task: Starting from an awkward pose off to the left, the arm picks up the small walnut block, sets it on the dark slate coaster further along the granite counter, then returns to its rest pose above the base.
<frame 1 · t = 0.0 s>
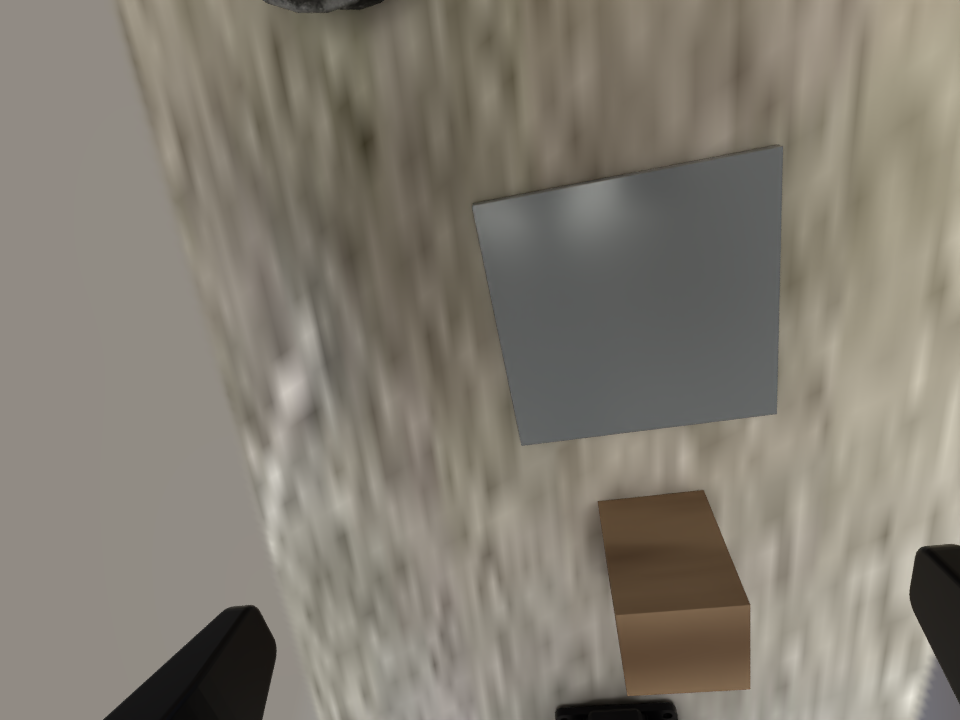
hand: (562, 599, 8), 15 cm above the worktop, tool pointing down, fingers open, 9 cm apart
slate coaster: (632, 312, 22), on the worktop
walnut block: (653, 534, 26), on the worktop
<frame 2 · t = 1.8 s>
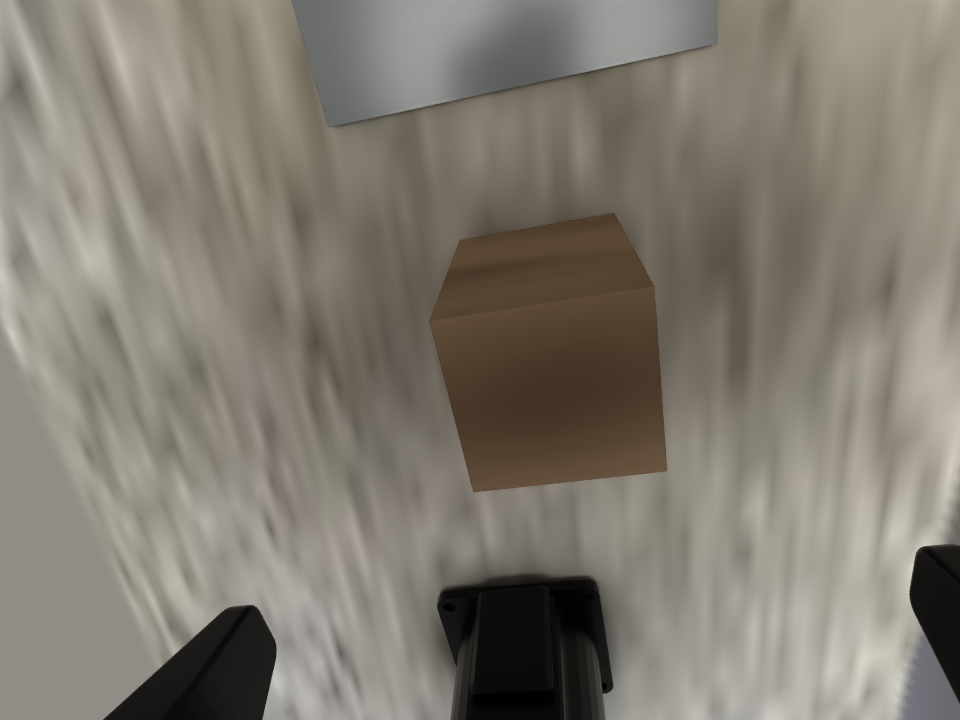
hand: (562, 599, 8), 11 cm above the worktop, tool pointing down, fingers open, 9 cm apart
walnut block: (546, 298, 18), on the worktop
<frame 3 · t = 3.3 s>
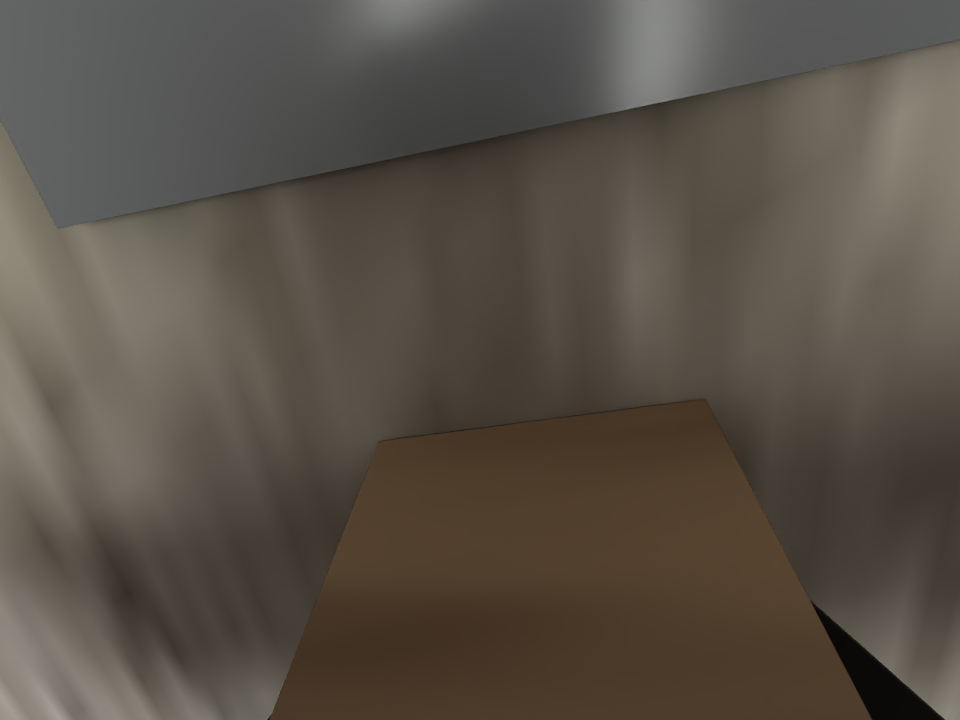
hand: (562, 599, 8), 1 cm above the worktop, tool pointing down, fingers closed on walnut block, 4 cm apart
walnut block: (558, 543, 9), on the worktop, touching gripper
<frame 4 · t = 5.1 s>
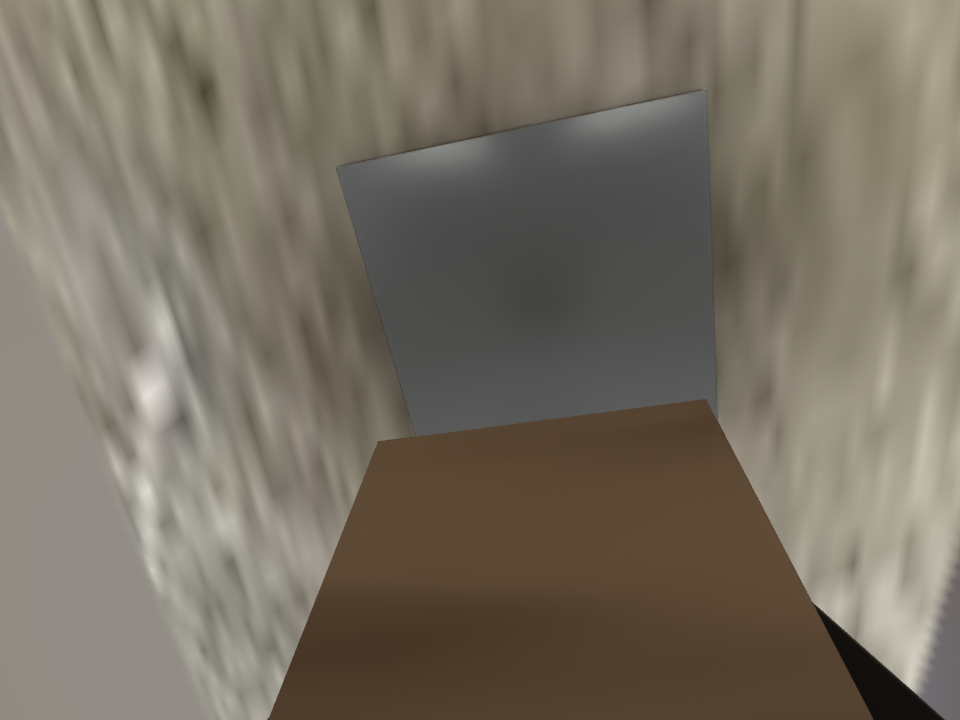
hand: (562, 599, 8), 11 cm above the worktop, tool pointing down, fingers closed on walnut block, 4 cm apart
slate coaster: (541, 299, 18), on the worktop
walnut block: (558, 543, 9), point 10 cm above the worktop, touching gripper
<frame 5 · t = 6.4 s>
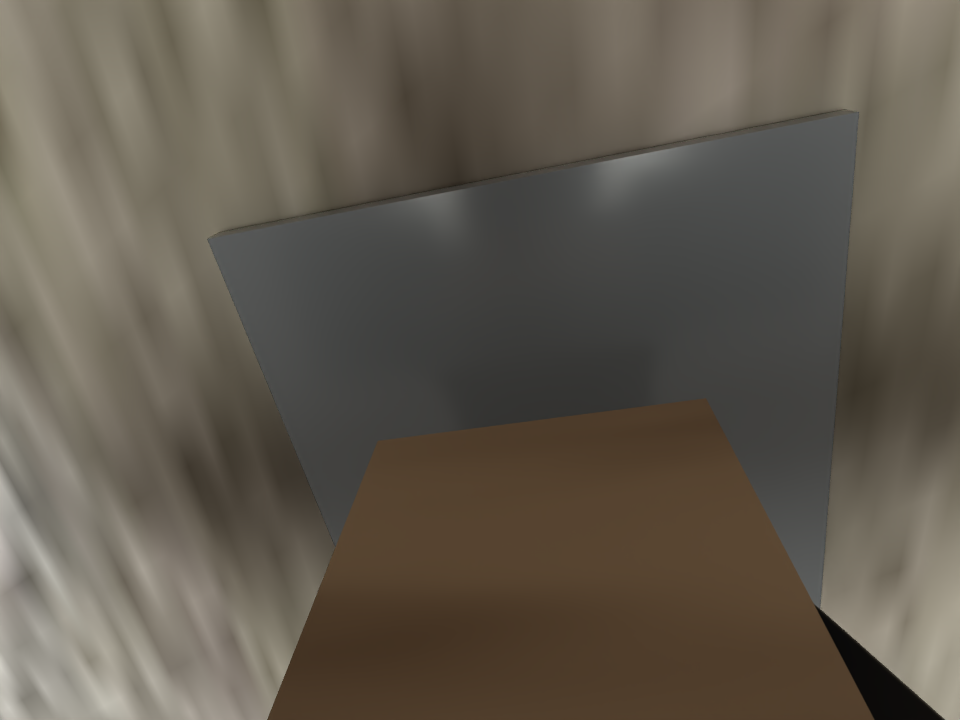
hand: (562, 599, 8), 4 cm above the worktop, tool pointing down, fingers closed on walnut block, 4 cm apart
slate coaster: (551, 435, 11), on the worktop
walnut block: (558, 543, 9), point 3 cm above the worktop, touching gripper
when the fingers open (2 cm above the worktop, at t = 7.1 s): walnut block drops 1 cm, resting on slate coaster.
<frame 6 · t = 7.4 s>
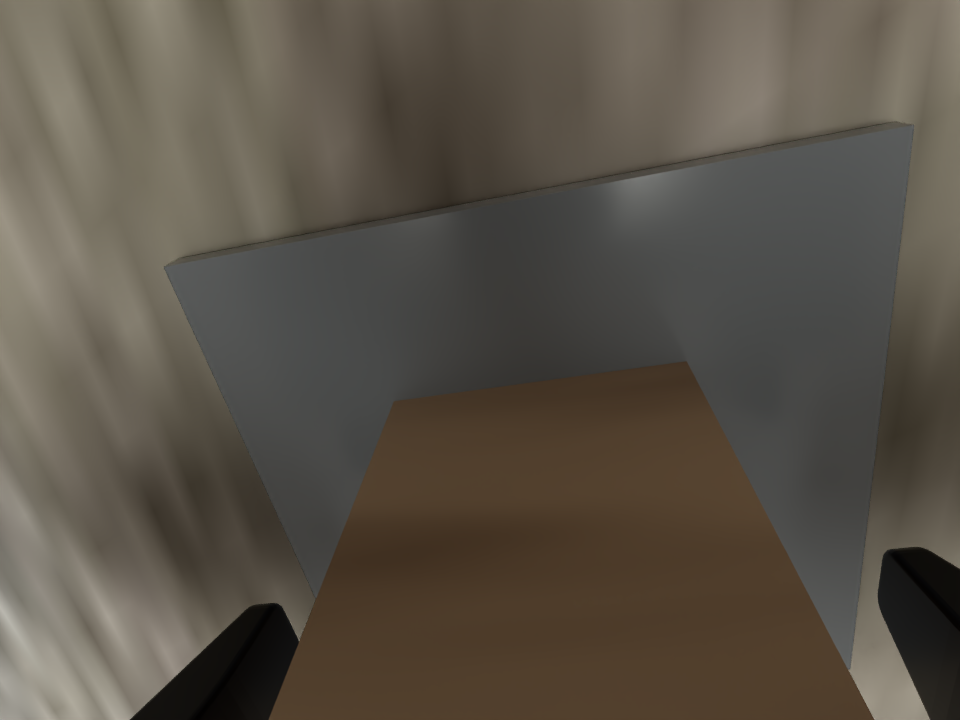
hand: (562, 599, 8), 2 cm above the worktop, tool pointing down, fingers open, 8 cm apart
slate coaster: (554, 481, 10), on the worktop
walnut block: (555, 496, 10), resting on slate coaster
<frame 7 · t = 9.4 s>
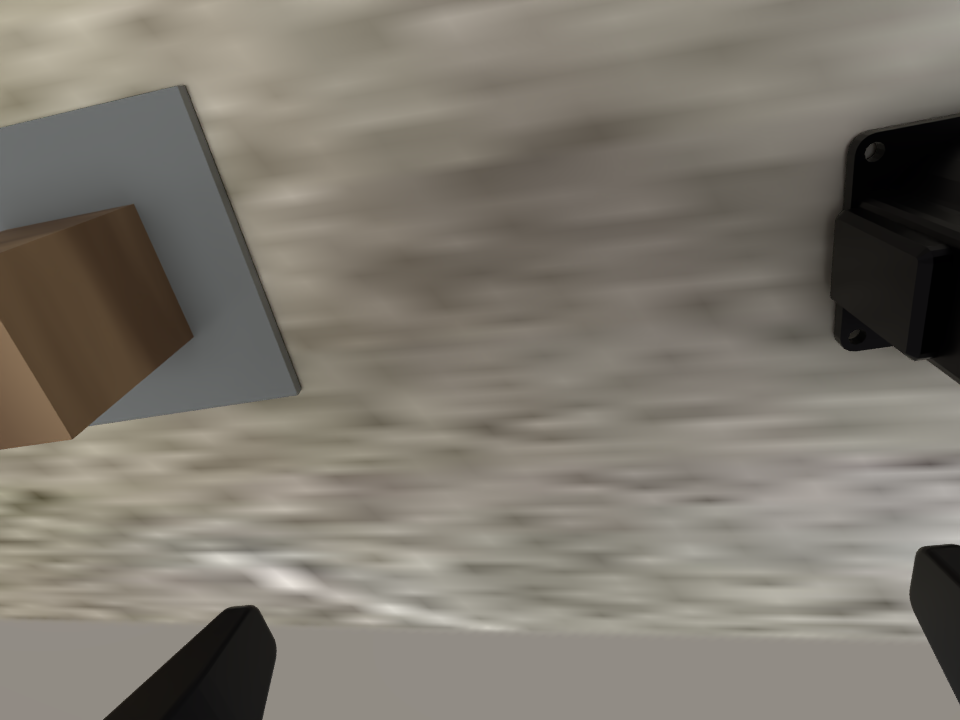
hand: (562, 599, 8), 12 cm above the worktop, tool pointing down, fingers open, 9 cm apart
slate coaster: (110, 281, 19), on the worktop
walnut block: (103, 285, 19), resting on slate coaster
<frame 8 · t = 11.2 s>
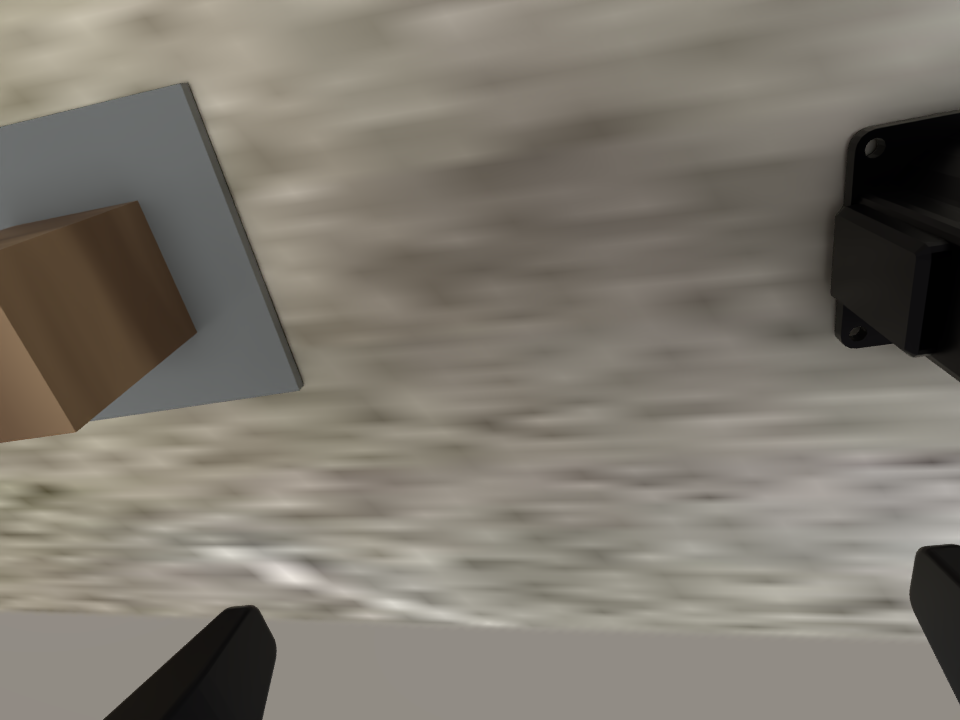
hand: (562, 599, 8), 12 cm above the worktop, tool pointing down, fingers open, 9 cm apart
slate coaster: (115, 277, 20), on the worktop
walnut block: (107, 281, 19), resting on slate coaster
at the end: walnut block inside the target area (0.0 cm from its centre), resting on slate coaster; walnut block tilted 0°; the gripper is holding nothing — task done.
